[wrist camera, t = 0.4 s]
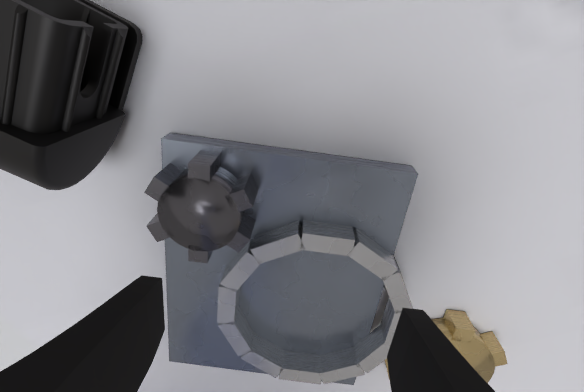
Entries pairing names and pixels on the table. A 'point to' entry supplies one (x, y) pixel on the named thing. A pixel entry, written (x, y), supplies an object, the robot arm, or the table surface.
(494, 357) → the planet gear
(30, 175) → the end cap
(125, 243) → the table surface
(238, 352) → the carrier plate
